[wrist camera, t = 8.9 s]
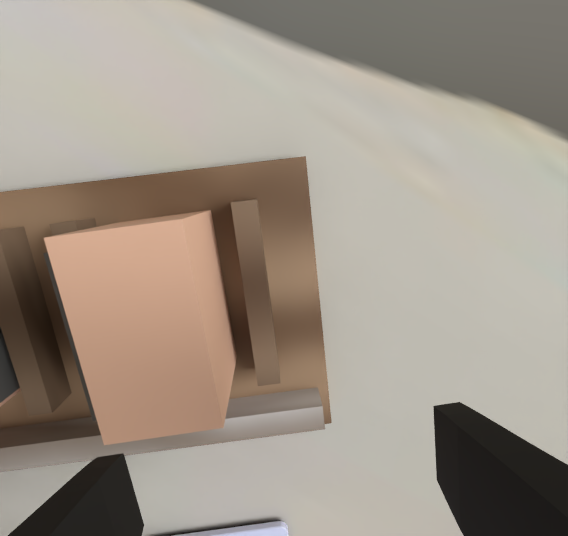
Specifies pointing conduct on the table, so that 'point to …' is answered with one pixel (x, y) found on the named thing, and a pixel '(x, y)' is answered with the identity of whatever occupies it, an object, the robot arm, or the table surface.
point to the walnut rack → (239, 292)
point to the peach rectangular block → (147, 324)
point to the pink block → (6, 374)
